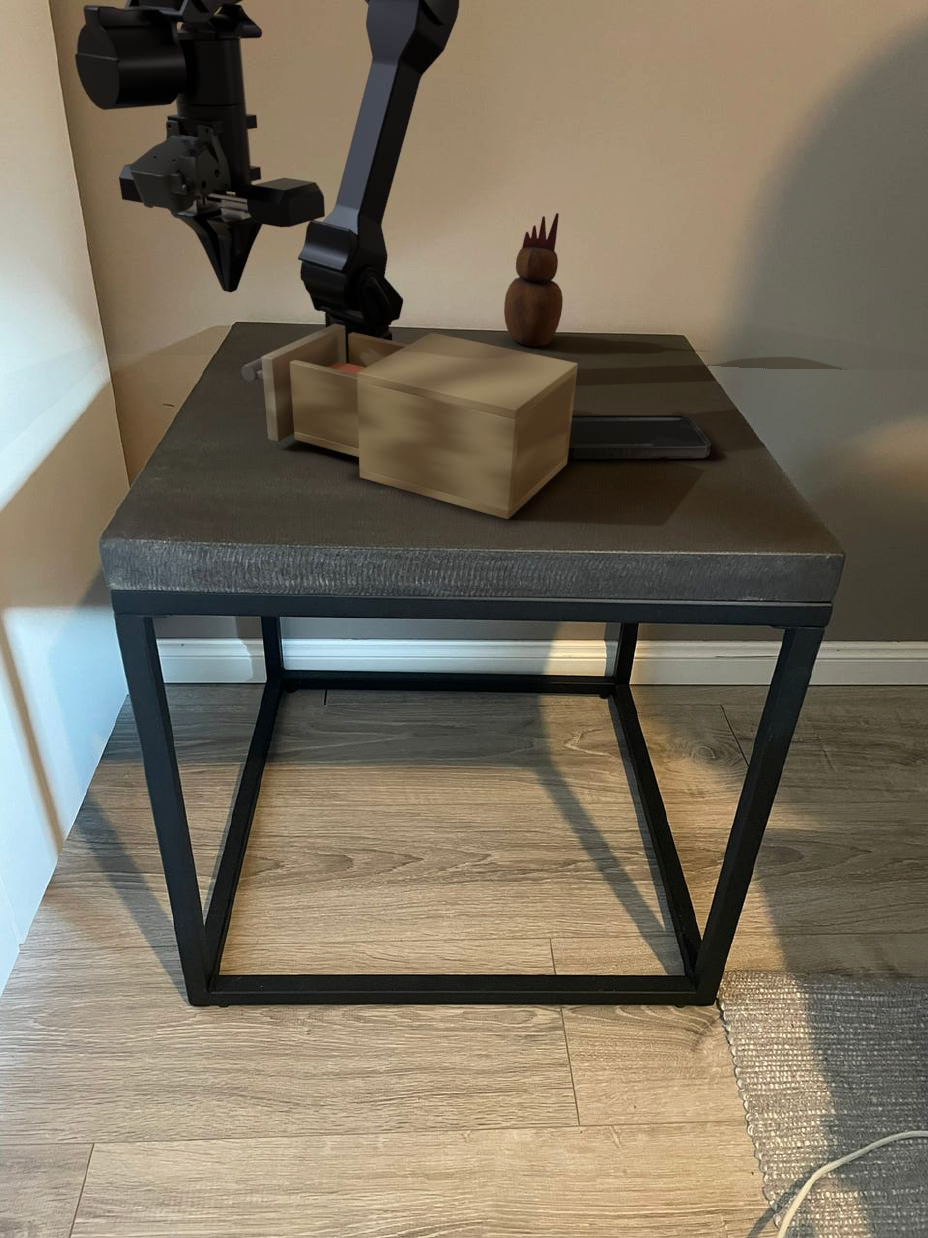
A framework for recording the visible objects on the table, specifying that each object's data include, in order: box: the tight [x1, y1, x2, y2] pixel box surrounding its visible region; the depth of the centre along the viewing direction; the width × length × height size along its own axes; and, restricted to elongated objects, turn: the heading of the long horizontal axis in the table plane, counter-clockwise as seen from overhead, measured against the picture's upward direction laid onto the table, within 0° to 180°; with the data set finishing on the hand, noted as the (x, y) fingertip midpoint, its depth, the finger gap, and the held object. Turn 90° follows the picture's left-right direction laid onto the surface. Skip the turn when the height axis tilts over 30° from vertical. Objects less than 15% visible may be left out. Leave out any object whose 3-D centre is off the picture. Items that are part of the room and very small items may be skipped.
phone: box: [567, 414, 712, 460], centre depth 92 cm, size 8×1×15 cm
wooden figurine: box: [503, 212, 564, 347], centre depth 112 cm, size 7×6×15 cm
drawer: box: [241, 324, 410, 458], centre depth 88 cm, size 18×11×8 cm, turn 62°
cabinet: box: [357, 332, 579, 520], centre depth 83 cm, size 15×13×10 cm
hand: (230, 290), depth 89 cm, fingers closed
